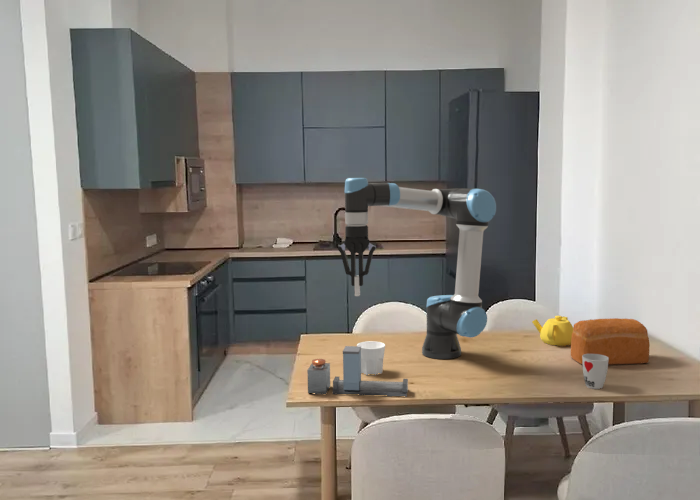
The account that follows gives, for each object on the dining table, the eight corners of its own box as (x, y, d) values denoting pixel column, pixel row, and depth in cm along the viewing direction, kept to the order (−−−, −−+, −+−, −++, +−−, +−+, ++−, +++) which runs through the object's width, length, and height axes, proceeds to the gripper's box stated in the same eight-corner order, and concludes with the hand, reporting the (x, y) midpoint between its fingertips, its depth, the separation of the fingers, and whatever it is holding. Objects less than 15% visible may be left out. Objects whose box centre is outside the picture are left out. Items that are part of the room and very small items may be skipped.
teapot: (539, 333, 282) (540, 308, 281) (582, 339, 272) (583, 313, 270) (522, 343, 266) (523, 317, 265) (567, 350, 256) (568, 323, 254)
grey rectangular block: (361, 384, 214) (361, 346, 212) (359, 390, 208) (358, 351, 206) (345, 383, 215) (345, 346, 213) (343, 390, 209) (342, 351, 207)
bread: (652, 364, 236) (654, 322, 234) (583, 367, 234) (584, 324, 232) (633, 353, 250) (634, 313, 248) (567, 356, 248) (568, 316, 246)
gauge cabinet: (330, 386, 217) (329, 363, 216) (326, 394, 209) (325, 370, 208) (312, 385, 217) (312, 362, 216) (307, 393, 210) (307, 370, 209)
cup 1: (357, 367, 237) (357, 341, 236) (384, 367, 236) (384, 341, 235) (356, 376, 227) (356, 348, 226) (385, 376, 227) (385, 348, 225)
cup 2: (577, 382, 217) (578, 354, 216) (600, 381, 218) (601, 353, 217) (588, 391, 209) (589, 361, 208) (612, 390, 210) (613, 360, 209)
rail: (407, 389, 213) (407, 377, 212) (406, 397, 206) (406, 384, 205) (335, 387, 216) (335, 375, 215) (332, 394, 209) (332, 382, 209)
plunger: (326, 385, 215) (326, 358, 214) (324, 389, 211) (324, 362, 209) (313, 384, 215) (313, 358, 214) (311, 389, 211) (310, 362, 210)
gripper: (377, 224, 215) (377, 293, 218) (338, 224, 217) (339, 293, 220) (375, 226, 208) (375, 298, 211) (335, 226, 210) (336, 297, 213)
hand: (357, 295), depth 216 cm, fingers closed
